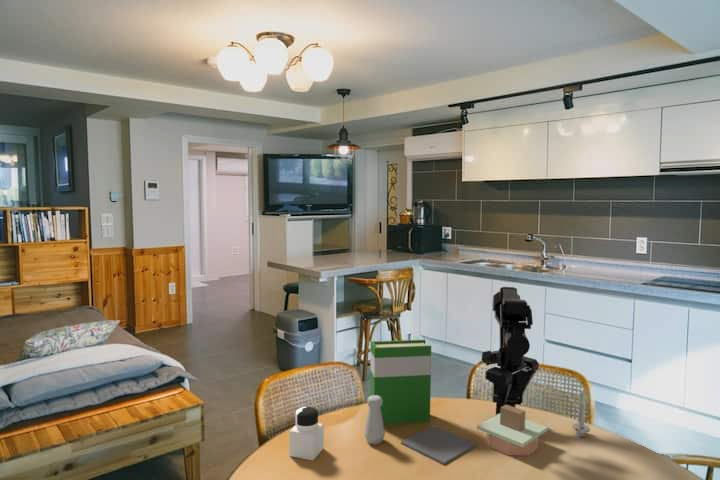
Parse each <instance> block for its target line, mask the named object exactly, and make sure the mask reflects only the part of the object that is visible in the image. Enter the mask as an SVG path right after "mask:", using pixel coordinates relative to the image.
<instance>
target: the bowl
mask: <svg viewBox="0 0 720 480" xmlns="http://www.w3.org/2000/svg"><path fill="white" fill-rule="evenodd" d="M539 437H540V436H539ZM539 437H537V438H536V439H534V440H533V441H531V442H530V443H528V444H527V445H525V446H524V447H521V446H518V445H516V444H513V443H511V442H508V441H506V440H503V439H501V438H498V437H496V436H493V435H491V434H488V433H486V440H487V442H488V444H489V446H490V448H491V449H494V450H495V451H498V452H500V453H503V454H505V455H508V456H530V455H532V454H533V453H534V452H535V451H537V450H539V439H540V438H539Z"/></svg>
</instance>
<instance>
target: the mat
mask: <svg viewBox="0 0 720 480" xmlns="http://www.w3.org/2000/svg"><path fill="white" fill-rule="evenodd" d="M400 444H401V445H403V446H404V447H406V448H408V449H411V450H413V451H415V452H417V453H418V454H421V455H423V456H426V457H427V458H429V459H431V460H433V461H435V462H437V463H439V464H441V465H442V466H445V465H446V464H448V463H449V462H451V461H453V460H455V459H456V458H459V456H462V455H464V454H465V453H466V452H468V451H470V450H472V449H473V448H475V447H477V445H478V444H477V442H474V441H472V440H470V439H467V438H464V437H462V436H460V435H457V434H455V433H453V432H451V431H449V430H446V429H443V428H441V427H439V426H437V425H432V426H430V427H429V428H426V429H424V430H422V431H419V432H417V433H415V434H414V435H411V436H410V437H407V438H405V439H403V440H402V441H400Z"/></svg>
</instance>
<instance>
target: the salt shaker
mask: <svg viewBox="0 0 720 480" xmlns="http://www.w3.org/2000/svg"><path fill="white" fill-rule="evenodd" d="M366 402H367V405H368V406H369V407H368V411H367V419H366V423H365V428H364V432H363V433H364V437H365V438H366V442H368V443H369V444H370V445H374V446H375V445H376V446H377V445H380V444H382V443H383V440H384V438H385V436H386V431H385V425H383V419H382V414H381V409H380V406H382V403H383V400H382V398H381V397H380V396H378V395H372V396H370V395H369V396H368V397H367V401H366Z"/></svg>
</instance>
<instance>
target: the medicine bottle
mask: <svg viewBox="0 0 720 480" xmlns="http://www.w3.org/2000/svg"><path fill="white" fill-rule="evenodd" d="M324 432H325V427H324V424H323V423H322V422H319V411H318V409H316V408H315V407H312V406H303V407H300V408H298V409H296V411H295V425H294V426H293V427H292V428H291V429H290V430H289V433H288V435H289V436H288V443H289V447H288V448H289V452H288V455H289V457H293V458H296V459H297V458H298V459H301V460H308V461H311V462H312V461H314V460H315V459H316V458H317V456H318V455H319V454H320V453H321V452H322V451H323V449H324V447H325V446H324V445H325V439H324V434H325V433H324Z"/></svg>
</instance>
